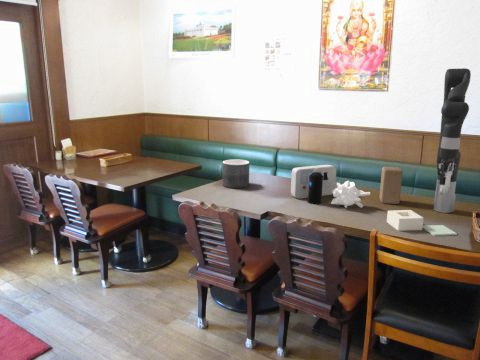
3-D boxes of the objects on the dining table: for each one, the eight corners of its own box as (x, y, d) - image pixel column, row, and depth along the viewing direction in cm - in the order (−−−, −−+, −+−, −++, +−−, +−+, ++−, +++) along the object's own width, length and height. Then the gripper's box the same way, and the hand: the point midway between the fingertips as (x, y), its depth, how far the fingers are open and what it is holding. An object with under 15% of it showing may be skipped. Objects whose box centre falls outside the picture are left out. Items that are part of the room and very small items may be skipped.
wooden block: (399, 204, 230) (403, 170, 225) (381, 203, 232) (384, 169, 227) (396, 199, 239) (400, 166, 234) (378, 198, 241) (382, 166, 236)
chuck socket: (409, 221, 203) (410, 209, 202) (422, 229, 192) (423, 218, 190) (386, 221, 202) (387, 210, 200) (398, 230, 190) (399, 218, 189)
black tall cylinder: (323, 201, 235) (325, 167, 230) (319, 205, 228) (321, 170, 223) (309, 199, 238) (311, 166, 233) (305, 203, 231) (307, 169, 226)
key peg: (450, 195, 186) (454, 165, 182) (445, 196, 183) (449, 166, 180) (441, 193, 189) (445, 163, 186) (436, 194, 186) (439, 165, 183)
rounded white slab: (296, 200, 237) (298, 170, 233) (290, 196, 244) (291, 167, 239) (337, 195, 248) (339, 166, 243) (329, 192, 255) (331, 164, 250)
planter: (249, 188, 261) (249, 165, 257) (221, 188, 261) (221, 164, 257) (249, 181, 278) (249, 159, 274) (223, 181, 278) (223, 159, 274)
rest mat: (442, 226, 196) (442, 225, 196) (456, 235, 186) (456, 233, 185) (421, 227, 195) (421, 225, 195) (434, 235, 184) (434, 234, 184)
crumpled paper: (340, 190, 212) (339, 168, 221) (326, 207, 225) (326, 187, 234) (375, 199, 214) (372, 177, 224) (359, 216, 228) (357, 195, 237)
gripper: (449, 149, 174) (444, 188, 178) (466, 146, 182) (460, 183, 186) (433, 147, 179) (428, 184, 184) (449, 144, 187) (444, 180, 192)
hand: (444, 183), depth 185 cm, fingers closed on key peg, 4 cm apart
